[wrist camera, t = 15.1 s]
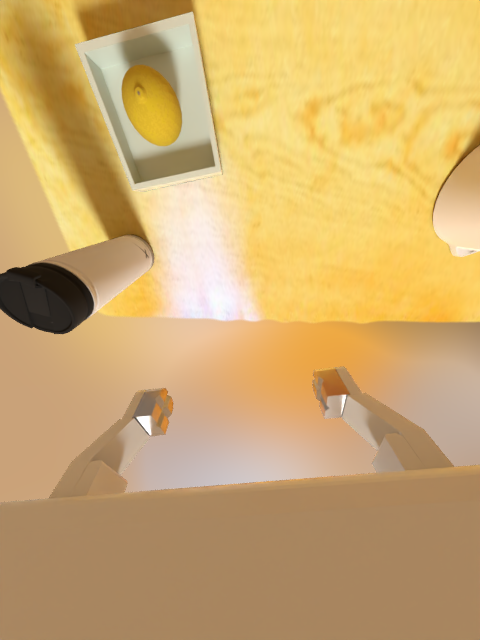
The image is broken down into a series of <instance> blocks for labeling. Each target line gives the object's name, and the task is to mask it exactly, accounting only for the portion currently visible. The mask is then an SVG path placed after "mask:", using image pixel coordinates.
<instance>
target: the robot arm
mask: <svg viewBox="0 0 480 640" xmlns="http://www.w3.org/2000/svg"><path fill="white" fill-rule="evenodd" d="M433 226H434V230H435V232H436V234H437V235H438V237H439V238H440V239H442V240H443V241H445V242H446V243H448V245H449V247H450V250H451V253H452V254H453V255H454V256H459V257H463V256H466V255H469V254H472V253H475V252H478V251H480V145H479V146H478V147H477V148H476V149H474V150H473V151H472V152H471V153H470V154H469V155H468V156H467V157H466V158H465V159H464V160H463V161H462V162H461V163H460V164H459V165H458V166H457V167H456V169H455V170H454V171H453V172H452V174H451V175H450V177H449V178H448V180H447V181H446V183H445V184H444V186H443V188H442V190H441V192H440V194H439V196H438V199H437V201H436V204H435V208H434V213H433ZM313 376H314V378H315V379H314V380H313V384H312V385H313V391H314V394H315V397H316V399H318V400H319V401H320V405H319V407H320V409H321V411H322V414H323V416H324V418H325V419H327V418H339V417H340V418H341V417H342V419H343V420H344V421H345V422H346V423H348V424H349V425H350V426H351V427H352V428H353V429H354V430H355V431H356V432H357V433H358V434H359V435H361V436H362V437H363V438H364V439H365V440H366V441H367V442H368V443H369V444H370V445H371V446H373V447H374V448H375V449H376V450H377V453H376V456H375V457H374V459H373V461H372V465H373V467H374V469H375V471H376V473H368V474H356V475H342V476H330V477H317V478H304V479H292V480H279V481H266V482H253V483H242V484H241V483H240V484H228V485H216V486H203V487H189V488H178V489H164V490H151V491H139V492H126V493H124V492H125V490H126V487H127V484H128V483H127V480H126V479H124V478H123V477H122V476H120V475H121V474H122V473H123V472H124V470H125V469H126V468H127V466H128V465H129V464H130V463H131V461H132V460H133V459H134V458H135V456H136V455H137V454H138V452H139V451H140V450H141V449H142V447H143V446H144V444H145V443H146V442H147V441H148V440H149V438H150V436H157V435H165V434H166V431H167V427H168V424H169V420H168V417H169V416H170V415H171V414H172V411H173V400H172V398H171V396H168V395H167V394H168V391H167V389H166V388H161V389H149V390H139V391H137V392H136V393H135V395H134V397H133V399H132V401H131V403H130V405H129V407H128V408H127V410H126V412H125V414H124V416H123V418H122V419H119V420H118V421H117V422H116V423H115V424H114V425H112V426H111V427H110V428H109V429H108V430H107V431H106V432H105V433H104V434H102V435H101V436H100V437H99V438H98V439H97V440H96V441H94V442H93V443H92V444H91V445H90V446H89V447H88V448H87V449H86V450H85V451H83V452H82V453H81V454H80V455H79V456H78V457H77V458H75V459H74V460H73V461H72V462H71V464H70V465H69V467H68V469H67V470H66V472H65V473H64V475H63V477H62V478H61V480H60V481H59V483H58V484H57V486H56V487H55V489H54V491H53V492H52V494H51V495H50V497H49V498H48V499H37V500H25V501H13V502H0V640H480V465H470V466H458V467H454V466H453V465H452V463H451V462H450V461H449V459H448V458H447V457H446V456H445V455H444V454H443V452H442V451H441V450H440V448H439V447H438V446H437V445H436V444H435V442H434V441H433V440H432V439H431V437H430V436H429V435H428V434H427V433H426V431H425V430H424V429H422V428H421V427H419V426H417V425H416V424H414V423H412V422H411V421H409V420H408V419H406V418H405V417H403V416H402V415H400V414H398V413H397V412H395V411H394V410H392V409H390V408H389V407H387V406H386V405H384V404H382V403H381V402H379V401H378V400H376V399H374V398H373V397H371V396H370V395H368V394H366V393H362V392H361V390H360V389H359V387H358V386H357V384H356V383H355V381H354V380H353V378H352V377H351V375H350V374H349V372H348V371H347V369H346V368H345V367H335V368H327V369H318V370H314V372H313Z"/></svg>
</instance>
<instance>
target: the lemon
mask: <svg viewBox="0 0 480 640" xmlns="http://www.w3.org/2000/svg"><path fill="white" fill-rule="evenodd" d="M121 90H122V100H123V104H124V108H125V111H126V113H127V116H128V118H129V120H130V121H131V123H132V125H133V126H134V128H135V129H136V130H137V132H138V133H139V134H140V135H141V136H142V137H143V138H144V139H146V140H147V141H148V142H150V143H152V144H154V145H157V146H168V145H171V144H172V143H174V142H175V141H176V140H177V138H178V137H179V134H180V132H181V127H182V112H181V108H180V103H179V101H178V98H177V96H176V93H175V91H174V90H173V88H172V87H171V85H170V83H169V82H168V81H167V80H166V79H165V78H164V77H163V76H162V74H161V73H159V72H158V71H156V70H155V69H153V68H152V67H150V66H146V65H143V64H142V65H135V66H133V67H131V68H129V70H128V71H127V72H126V73H125V76H124V78H123V81H122V88H121Z"/></svg>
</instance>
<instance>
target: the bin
mask: <svg viewBox="0 0 480 640" xmlns="http://www.w3.org/2000/svg"><path fill="white" fill-rule="evenodd" d="M75 47H76V49H77V52H78V54H79V57H80V59H81V62H82V64H83V67H84V69H85V72H86V75H87V77H88V80H89V82H90V85H91V87H92V90H93V92H94V95H95V97H96V100H97V102H98V105H99V107H100V110H101V113H102V115H103V118H104V120H105V123H106V125H107V128H108V130H109V133H110V135H111V138H112V140H113V143H114V145H115V148H116V150H117V153H118V156H119V158H120V161H121V163H122V166H123V168H124V171H125V173H126V176H127V178H128V181H129V183H130V186H131V188H132V190H133V191H141V192H144V191H148V190H153V189H158V188H162V187H167V186H172V185H176V184H181V183H185V182H190V181H195V180H199V179H204V178H209V177H213V176H218V175H223V174H222V168H221V162H220V157H219V151H218V145H217V140H216V134H215V128H214V123H213V117H212V111H211V106H210V100H209V94H208V89H207V83H206V77H205V72H204V66H203V60H202V55H201V49H200V43H199V38H198V33H197V28H196V24H195V19H194V15H193V12H189V13H186V14H182V15H179V16H175V17H171V18H168V19H164V20H161V21H157V22H153V23H150V24H146V25H143V26H139V27H135V28H132V29H128V30H125V31H121V32H117V33H114V34H110V35H107V36H103V37H99V38H96V39H92V40H89V41H85V42H81V43H78V44H75ZM142 64H143V65H146V66H150V67H152V68H153V69H155V70H156V71H158V72H159V73H161V74H162V76H163V77H164V78H165V79H166V80H167V81H168V82H169V83H170V85H171V87H172V88H173V90H174V91H175V93H176V96H177V98H178V101H179V103H180V108H181V112H182V127H181V132H180V134H179V137H178V138H177V140H176V141H175V142H174V143H172V144H171V145H168V146H157V145H154V144H152V143H150V142H148V141H147V140H146V139H144V138H143V137H142V136H141V135H140V134H139V133H138V132H137V130H136V129H135V128H134V126H133V125H132V123H131V121H130V120H129V118H128V116H127V113H126V111H125V108H124V104H123V100H122V90H121V88H122V81H123V78H124V76H125V73H126V72H127V71H128V70H129V68H131V67H133V66H135V65H142Z"/></svg>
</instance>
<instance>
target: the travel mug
mask: <svg viewBox="0 0 480 640" xmlns="http://www.w3.org/2000/svg"><path fill="white" fill-rule="evenodd" d="M153 263H154V254H153V251H152V249H151V247H150V246H149V245H148V243H147V242H146V241H144V240H143V239H142V238H140V237H138V236H135V235H124V236H121V237H118V238H114V239H111V240H108V241H104V242H101V243H98V244H95V245H91V246H88V247H85V248H81V249H78V250H75V251H71V252H68V253H65V254H62V255H59V256H55V257H52V258H49V259H45V260H42V261H39V262H35V263H32V264H30V265H28V266H26V267H22V268H17V267H15V268H12V269H9V270H7V272H5V273H2V274H0V309H1V310H2V311H3V312H4V313H6V314H7V315H8V316H9V317H11V318H12V319H14V320H15V321H17V322H19V323H20V324H23V325H25V326H27V327H30V328H33V327H35V328H37V329H39V330H42V331H46V332H51V333H54V334H65V333H68V332H70V331H72V330H73V329H74V328H75V327H77V326H78V325H79V324H80V323H82V322H83V321H84V320H86V319H87V318H89V317H90V316H92V314H94V313H95V312H97V311H98V310H99V309H100V308H102V307H103V306H104V305H105V304H107V303H108V302H109V301H110V300H112V299H113V298H114V297H115V296H117V295H118V294H119V293H120V292H122V291H123V290H124V289H125V288H127V287H128V286H129V285H131V284H132V283H133V282H134V281H136V280H137V279H138V278H139V277H141V276H142V275H143V274H144V273H146V272H147V271H148V270H149V269H150V268H151V267H152V265H153Z"/></svg>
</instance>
